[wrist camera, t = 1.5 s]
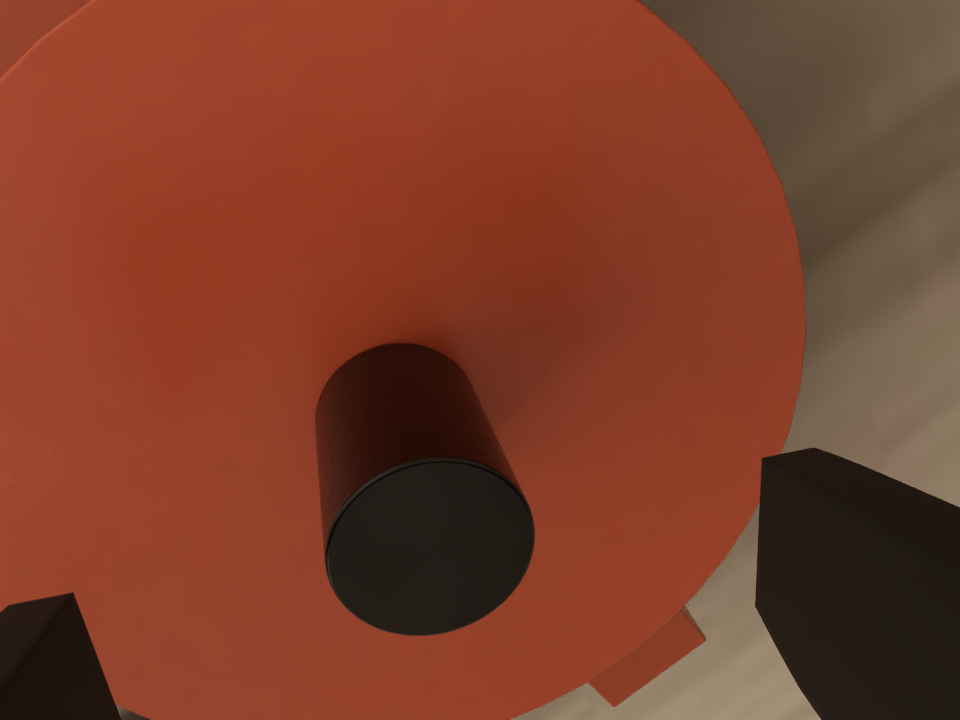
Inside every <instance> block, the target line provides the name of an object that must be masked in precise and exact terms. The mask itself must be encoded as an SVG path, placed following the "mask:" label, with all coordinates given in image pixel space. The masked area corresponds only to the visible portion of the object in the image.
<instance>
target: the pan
mask: <svg viewBox="0 0 960 720" xmlns="http://www.w3.org/2000/svg"><path fill="white" fill-rule="evenodd" d="M88 1H89V0H0V77H1V76H2V75H3V74H4V73H5V72H6V71H7V70H8V69H9V68H10V67H11V66H12V65H13V64H14V63H15V62H16V61H17V60H18V59H19V58H20V57H21V56H22V55H23V54H24V52H25V51H26V50H27V49H28V48H29V47H30V46H31V45H32V44H33V43H34V42H35V41H36V40H37V39H38V38H39V37H41V36H42V35H43V34H45V33H46V32H48V31H49V30H50V29H52V28H53V27H54V26H56V25H57V24H58V23H60V22H61V21H62V20H64V19H65V18H66V17H68V16H69V15H70V14H72V13H73V12H74V11H76V10H77V9H78V8H80V7H81V6H82V5H84V4H85V3H86V2H88ZM705 641H706V637H705V635H704V634H703V632H702V631H701V629H700V628H699V626H698V625H697V623H696V622H695V620H694V619H693V617H692V616H691V614H690V612H689V611H688V609H687V608H686V607H685V606H683V607H682V608H681V609H680V610H679V611H678V612H677V613H676V614H675V615H674V616H673V617H672V618H671V619H670V620H669V621H668V622H667V623H666V624H665V625H664V626H663V627H662V628H661V629H659V630H658V631H657V632H656V633H654V634H653V635H652V636H651V637H649V638H648V639H647V640H646V641H644V642H643V643H642V644H641V645H640V646H638V647H637V648H636V649H635V650H633V651H632V652H631V653H630V654H628V655H627V656H626V657H625V658H623V659H622V660H620V661H619V662H617V663H616V664H614V665H612V666H611V667H609V668H608V669H606V670H605V671H603V672H602V673H600V674H599V675H597V676H596V677H594V678H593V679H591V680H590V681H588V683H589V684H590V685H591V686H592V687H593V688H594V689H595V690H596V691H597V692H598V693H599V694H600V695H601V696H602V697H603V698H604V699H605V700H606V701H607V702H608V703H609V704H610V705H611V706H613V707H615V706H617V705H618V704H620V703H621V702H622V701H624V700H625V699H626V698H628V697H629V696H631V695H632V694H633V693H635V692H636V691H637V690H639V689H640V688H642V687H643V686H644V685H646V684H647V683H648V682H650V681H651V680H653V679H654V678H655V677H657V676H658V675H659V674H661V673H662V672H664V671H665V670H666V669H668V668H669V667H670V666H672V665H673V664H675V663H676V662H677V661H679V660H680V659H681V658H683V657H684V656H686V655H687V654H688V653H690V652H691V651H692V650H694V649H695V648H696V647H698V646H699V645H701V644H702V643H703V642H705Z"/></svg>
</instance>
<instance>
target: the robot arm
mask: <svg viewBox="0 0 960 720" xmlns="http://www.w3.org/2000/svg"><path fill="white" fill-rule="evenodd" d="M755 607H756V608H757V610H758V612H759V614H760V616H761V618H762V620H763V622H764V624H765V626H766V628H767V630H768V632H769V633H770V635H771V637H772V639H773V641H774V643H775V645H776V647H777V649H778V651H779V653H780V654H781V656H782V658H783V660H784V661H785V663H786V665H787V667H788V669H789V670H790V672H791V674H792V676H793V677H794V679H795V681H796V683H797V685H798V686H799V688H800V690H801V691H802V692H803V694H804V695H805V697H806V698H807V700H808V701H809V703H810V704H811V705H812V707H813V708H814V710H815V711H816V713H817V714H818V715H819V717H820V718H821V720H960V507H957V506H955V505H953V504H950V503H948V502H946V501H944V500H941V499H939V498H937V497H934V496H932V495H930V494H927V493H925V492H923V491H920V490H918V489H916V488H914V487H911V486H909V485H907V484H904V483H902V482H900V481H897V480H895V479H893V478H890V477H888V476H886V475H883V474H881V473H879V472H876V471H874V470H871V469H869V468H867V467H864V466H862V465H860V464H857V463H855V462H852V461H850V460H847V459H845V458H842V457H839V456H837V455H834V454H831V453H828V452H826V451H823V450H820V449H817V448H809V449H804V450H799V451H794V452H789V453H784V454H778V455H773V456H768V457H763V458H762V464H761V487H760V510H759V532H758V555H757V578H756V601H755ZM0 720H121V718H120V715H119V713H118V710H117V707H116V705H115V702H114V699H113V697H112V694H111V691H110V689H109V686H108V683H107V681H106V678H105V675H104V673H103V670H102V667H101V665H100V662H99V659H98V657H97V654H96V651H95V649H94V646H93V643H92V641H91V638H90V635H89V633H88V630H87V627H86V625H85V622H84V619H83V617H82V614H81V611H80V609H79V606H78V603H77V601H76V598H75V595H74V593H73V592H72V593H67V594H62V595H57V596H52V597H47V598H42V599H37V600H31V601H26V602H21V603H16V604H11V605H8V606H7V607H6V608H5V609H3V610H2V611H1V612H0Z"/></svg>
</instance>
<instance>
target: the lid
mask: <svg viewBox="0 0 960 720" xmlns="http://www.w3.org/2000/svg"><path fill="white" fill-rule="evenodd" d="M805 338H806V315H805V282H804V276H803V269H802V263H801V257H800V250H799V244H798V238H797V232H796V229H795V226H794V222H793V219H792V216H791V213H790V209H789V206H788V203H787V199H786V196H785V193H784V190H783V186H782V183H781V180H780V178H779V176H778V174H777V172H776V170H775V168H774V166H773V163H772V161H771V159H770V157H769V155H768V153H767V151H766V148H765V146H764V144H763V142H762V140H761V138H760V136H759V133H758V131H757V130H756V128H755V127H754V125H753V124H752V122H751V121H750V119H749V118H748V116H747V115H746V113H745V112H744V110H743V109H742V107H741V106H740V104H739V103H738V101H737V100H736V98H735V97H734V95H733V94H732V92H731V91H730V89H729V88H728V86H727V84H726V83H725V82H724V81H723V80H722V79H721V78H720V77H719V75H718V74H717V73H716V72H715V71H714V70H713V69H712V68H711V67H710V65H709V64H708V63H707V62H706V61H705V60H704V59H703V58H702V57H701V55H700V54H699V53H698V52H697V51H696V50H695V49H694V48H693V46H692V45H691V44H690V43H689V42H688V41H687V40H686V39H685V38H684V37H682V36H681V35H680V34H679V33H678V32H676V31H675V30H674V29H673V28H672V27H670V26H669V25H668V24H667V23H666V22H664V21H663V20H662V19H661V18H660V17H658V16H657V15H656V14H655V13H654V12H652V11H651V10H650V9H649V8H648V7H646V6H645V5H644V4H643V3H641V2H640V1H639V0H89V1H88V2H86V3H85V4H84V5H82V6H81V7H80V8H78V9H77V10H76V11H74V12H73V13H72V14H70V15H69V16H68V17H66V18H65V19H64V20H62V21H61V22H60V23H58V24H57V25H56V26H54V27H53V28H52V29H50V30H49V31H48V32H46V33H45V34H43V35H42V36H41V37H39V38H38V39H37V40H36V41H35V42H34V43H33V44H32V45H31V46H30V47H29V48H28V49H27V50H26V51H25V52H24V54H23V55H22V56H21V57H20V58H19V59H18V60H17V61H16V62H15V63H14V64H13V65H12V66H11V67H10V68H9V69H8V70H7V71H6V72H5V73H4V74H3V75H2V76H1V77H0V612H1V611H2V610H3V609H5V608H6V607H7V606H8V605H11V604H16V603H21V602H26V601H31V600H37V599H42V598H47V597H52V596H57V595H62V594H67V593H72V592H73V593H74V595H75V598H76V601H77V603H78V606H79V609H80V611H81V614H82V617H83V619H84V622H85V625H86V627H87V630H88V633H89V635H90V638H91V641H92V643H93V646H94V649H95V651H96V654H97V657H98V659H99V662H100V665H101V667H102V670H103V673H104V675H105V678H106V681H107V683H108V686H109V689H110V691H111V694H112V697H113V699H114V702H115V704H116V705H118V706H120V707H123V708H125V709H127V710H129V711H132V712H134V713H136V714H139V715H141V716H143V717H145V718H148V719H150V720H510V719H512V718H514V717H517V716H519V715H522V714H524V713H527V712H529V711H531V710H534V709H536V708H539V707H541V706H543V705H545V704H547V703H549V702H551V701H553V700H555V699H557V698H559V697H561V696H562V695H564V694H566V693H568V692H570V691H572V690H574V689H576V688H578V687H579V686H581V685H583V684H585V683H587V682H588V681H590V680H591V679H593V678H594V677H596V676H597V675H599V674H600V673H602V672H603V671H605V670H606V669H608V668H609V667H611V666H612V665H614V664H616V663H617V662H619V661H620V660H622V659H623V658H625V657H626V656H627V655H628V654H630V653H631V652H632V651H633V650H635V649H636V648H637V647H638V646H640V645H641V644H642V643H643V642H644V641H646V640H647V639H648V638H649V637H651V636H652V635H653V634H654V633H656V632H657V631H658V630H659V629H661V628H662V627H663V626H664V625H665V624H666V623H667V622H668V621H669V620H670V619H671V618H672V617H673V616H674V615H675V614H676V613H677V612H678V611H679V610H680V609H681V608H682V607H683V606H684V605H685V604H686V603H687V602H688V601H689V600H690V599H691V598H692V597H693V596H694V595H695V594H696V593H697V592H698V590H699V589H700V588H701V587H702V586H703V584H704V583H705V582H706V581H707V579H708V578H709V577H710V576H711V575H712V573H713V572H714V571H715V570H716V568H717V567H718V566H719V565H720V564H721V562H722V561H723V560H724V559H725V557H726V556H727V554H728V553H729V551H730V550H731V548H732V547H733V545H734V544H735V542H736V541H737V539H738V538H739V536H740V534H741V533H742V531H743V530H744V528H745V527H746V525H747V524H748V522H749V521H750V519H751V518H752V516H753V514H754V512H755V510H756V508H757V506H758V504H759V502H760V487H761V464H762V458H763V457H768V456H773V455H778V454H781V452H782V449H783V446H784V444H785V441H786V438H787V436H788V433H789V430H790V426H791V422H792V417H793V413H794V409H795V405H796V401H797V396H798V392H799V388H800V384H801V375H802V366H803V357H804V348H805Z"/></svg>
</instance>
